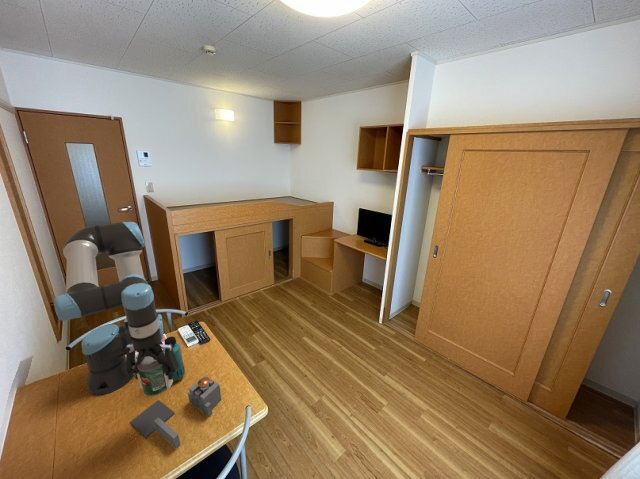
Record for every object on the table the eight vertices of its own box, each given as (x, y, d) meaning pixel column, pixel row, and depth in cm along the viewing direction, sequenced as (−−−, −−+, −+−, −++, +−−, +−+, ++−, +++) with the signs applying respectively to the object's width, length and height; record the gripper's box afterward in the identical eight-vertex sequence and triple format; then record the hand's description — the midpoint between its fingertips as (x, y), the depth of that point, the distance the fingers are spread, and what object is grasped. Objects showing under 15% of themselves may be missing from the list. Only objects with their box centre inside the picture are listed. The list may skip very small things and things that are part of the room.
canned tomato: (137, 391, 86) (131, 366, 82) (158, 373, 93) (153, 349, 89) (155, 399, 83) (149, 374, 80) (175, 380, 90) (171, 356, 87)
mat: (130, 423, 91) (129, 421, 90) (158, 400, 99) (158, 399, 99) (146, 438, 86) (145, 437, 86) (174, 413, 94) (174, 412, 94)
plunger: (197, 396, 97) (195, 383, 95) (206, 388, 101) (204, 375, 98) (204, 401, 96) (202, 388, 93) (213, 393, 99) (212, 380, 97)
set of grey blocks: (156, 431, 88) (152, 414, 86) (205, 388, 105) (202, 373, 102) (176, 449, 83) (172, 431, 81) (224, 401, 100) (222, 386, 97)
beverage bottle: (178, 385, 105) (171, 346, 99) (164, 382, 107) (156, 343, 100) (189, 373, 112) (183, 335, 105) (175, 370, 113) (168, 332, 106)
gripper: (101, 339, 76) (117, 395, 84) (173, 340, 77) (183, 395, 85) (118, 322, 83) (132, 375, 91) (184, 324, 84) (192, 376, 92)
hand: (157, 385), depth 88 cm, fingers closed on canned tomato, 8 cm apart
